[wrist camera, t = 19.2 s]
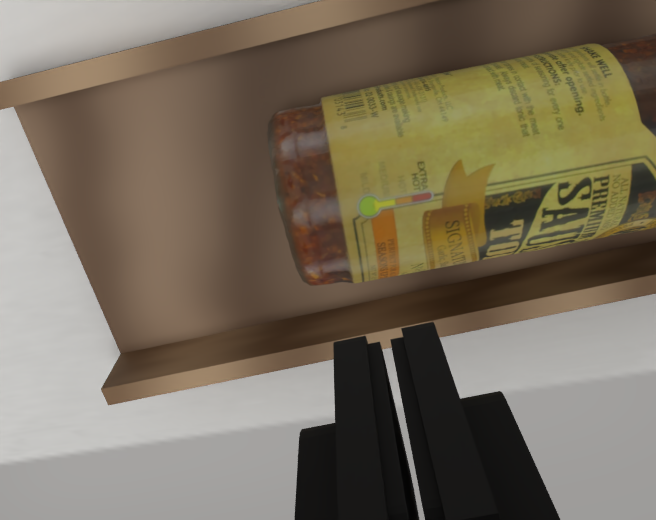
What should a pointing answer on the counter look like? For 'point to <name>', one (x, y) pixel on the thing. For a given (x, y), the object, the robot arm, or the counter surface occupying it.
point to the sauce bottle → (469, 163)
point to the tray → (259, 190)
